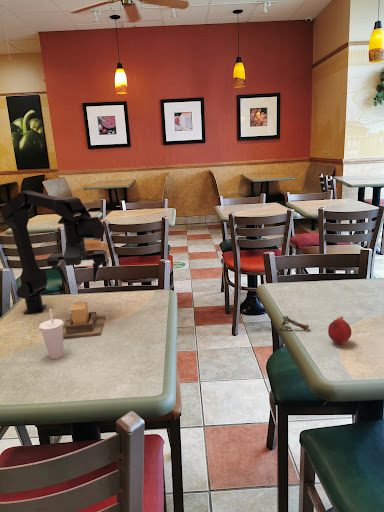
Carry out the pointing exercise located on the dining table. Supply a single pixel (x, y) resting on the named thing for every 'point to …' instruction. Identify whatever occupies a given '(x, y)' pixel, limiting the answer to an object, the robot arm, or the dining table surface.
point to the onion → (339, 330)
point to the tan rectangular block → (80, 313)
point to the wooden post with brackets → (292, 323)
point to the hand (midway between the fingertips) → (80, 282)
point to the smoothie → (53, 336)
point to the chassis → (84, 327)
